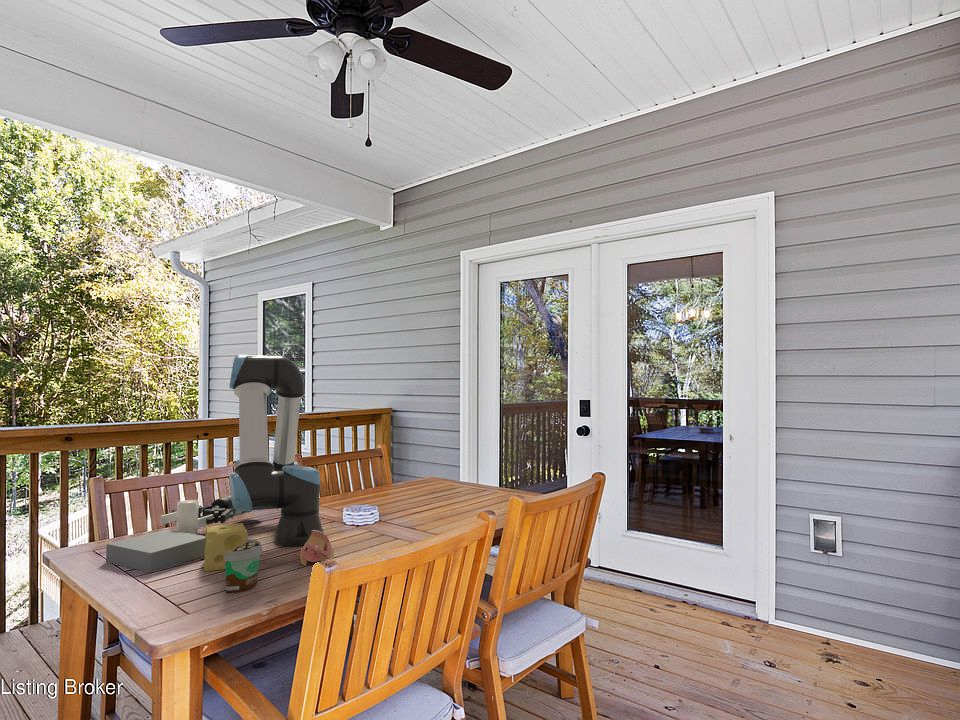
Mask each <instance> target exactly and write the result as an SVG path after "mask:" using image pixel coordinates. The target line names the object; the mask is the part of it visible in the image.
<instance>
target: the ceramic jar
mask: <svg viewBox="0 0 960 720" xmlns="http://www.w3.org/2000/svg"><path fill="white" fill-rule="evenodd" d="M176 503H177V507H176V510H177V522H176V528H175V531H179V532H184V533H190V534H195V535H199V534H198V529H199V528H196V519H199V518H198V511H199V506H200V505H199V504H200V501H199V500H196V499H188V500H187V499H186V500H180V501H177V502H176Z"/></svg>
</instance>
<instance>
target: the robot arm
mask: <svg viewBox="0 0 960 720" xmlns="http://www.w3.org/2000/svg"><path fill="white" fill-rule="evenodd" d="M228 387H229V389H231V390H233V393H234V395H235V397H237V398H238V405H239V407H238V411H239V412H238V414H239V415H238V428H239V431H238V432H239V435H238V437H239V443H238V445H239V459H237V460H236V462H235V467H234V470H233V471H234V472H231V473H230V474H229V476H228V477H229V478H228V483H229V494H230V495H227V496H224V497H221V498H216V499H214V500H213V501H212V502H211V504H210V505H206V506H202V505H199V511H198V519H196V528H198V529H200V528H203V527H206V526H211V525H212V524H218V523H219V522H220V524H224V523H226V521H228V520H233V519H234V518H235V517H238V516H241V515H244V514H249V513H252V512H253V511H263V510H265V511H266V510H277V509H279V510H280V518H279V520H278V522H277V527H276V531H275V532H274V535H273V536H274V537H273V542H274V543H275V544H276V545H278V546H283V547H284V546H285V547H303V546H302V545H305V543H306V542H308V541H307V540H308V539H309V537H310V536H311V533H312V530H317V531H320V532H322V533H324V534H325V531H324V528H323V525H322V521H321V518H320V496H321V495H320V492H321V491H320V488H321V484H322V483H321V475H320V471H319V470H318V469H317V468H314V467H309V466H303V465H300V464H299V462H297V461H295V459H296V458H295V457H296V450H297V449H296V447H297V437H298V427H299V417H300V409H301V408H300V406H301V400H302V398H303V397H304V396H305V380H304V377H303V375H302V372H301V370H300V369H299V367H298V365H296V363H295V362H293V361H292V360H291V359H289V358H288V357H285V356H283V355H282V356H281V355H254V354H253V355H251V354H238V355H235V356H234V358H233V362H232V369H231V375H230V380H229V385H228ZM272 390H275V395H276V396H277V397H278V401H277V410H276V411H277V412H276V422H275V432H274V434H275V435H274V443H273V444H274V447H273V455H272V456H273V457H272V462H271V461H270V460H269V459H270V458H269V435H268V433H269V432H268V407H267V406H268V405H267V403H268V402H267V397H268V396H269V395H270V394H271V393H272ZM159 522H160V525H162V526H163V525H167V524H170V523H173V522H176V523H177V509H172V510H171V513H167V514H162V515H160V521H159Z"/></svg>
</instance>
